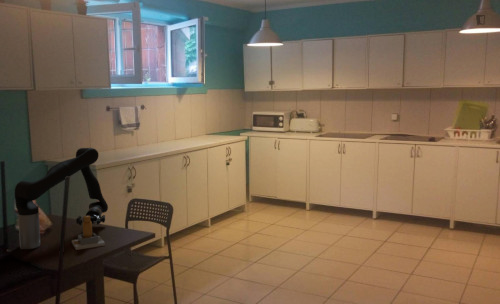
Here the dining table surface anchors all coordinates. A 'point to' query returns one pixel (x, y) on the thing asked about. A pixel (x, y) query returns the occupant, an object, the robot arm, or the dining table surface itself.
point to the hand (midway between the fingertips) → (88, 223)
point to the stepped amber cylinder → (87, 227)
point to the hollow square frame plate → (88, 242)
